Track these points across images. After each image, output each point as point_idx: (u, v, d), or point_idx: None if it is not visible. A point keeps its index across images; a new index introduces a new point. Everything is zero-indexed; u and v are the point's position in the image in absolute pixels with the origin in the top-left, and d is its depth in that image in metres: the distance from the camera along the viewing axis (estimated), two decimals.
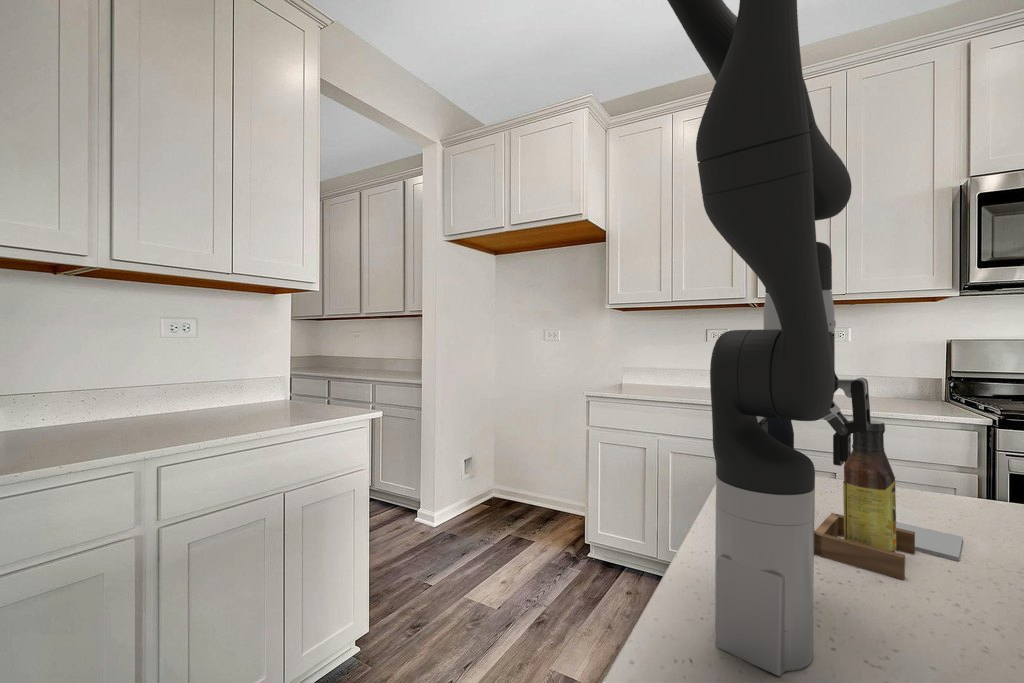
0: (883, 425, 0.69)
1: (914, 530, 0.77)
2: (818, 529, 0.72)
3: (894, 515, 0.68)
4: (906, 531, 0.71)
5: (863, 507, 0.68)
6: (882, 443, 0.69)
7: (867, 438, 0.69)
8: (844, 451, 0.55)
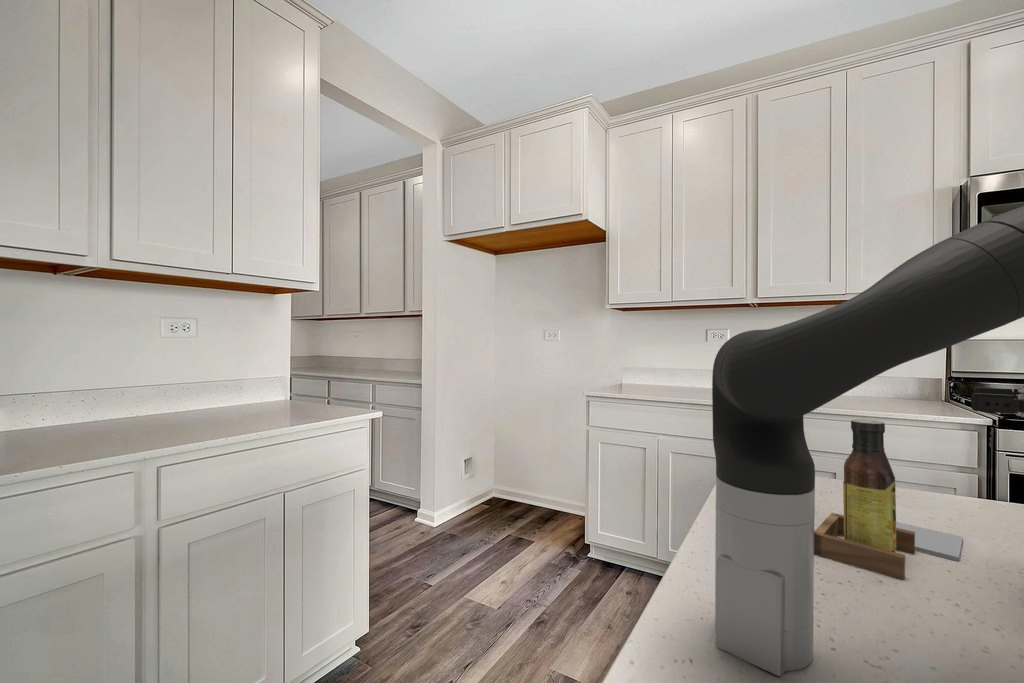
0: (883, 425, 0.69)
1: (914, 530, 0.77)
2: (818, 529, 0.72)
3: (894, 515, 0.68)
4: (906, 531, 0.71)
5: (863, 507, 0.68)
6: (882, 443, 0.69)
7: (867, 438, 0.69)
8: (991, 398, 0.57)
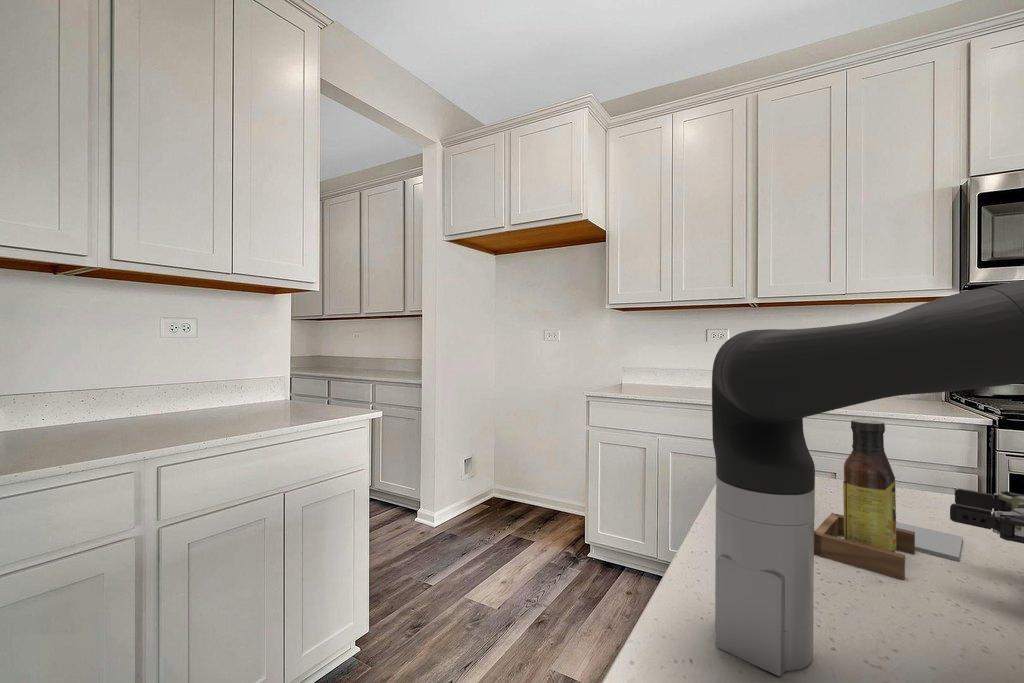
0: (883, 425, 0.69)
1: (914, 530, 0.77)
2: (818, 529, 0.72)
3: (894, 515, 0.68)
4: (906, 531, 0.71)
5: (863, 507, 0.68)
6: (882, 443, 0.69)
7: (867, 438, 0.69)
8: (969, 511, 0.59)
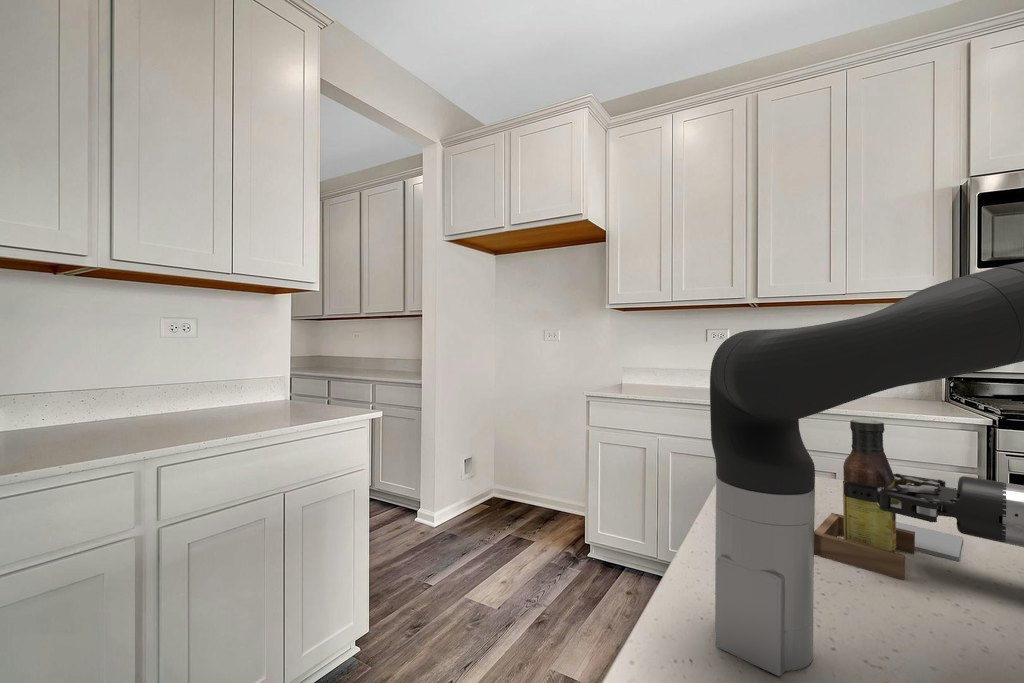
0: (882, 425, 0.69)
1: (914, 530, 0.77)
2: (818, 529, 0.72)
3: (894, 515, 0.67)
4: (906, 531, 0.71)
5: (863, 507, 0.68)
6: (882, 443, 0.69)
7: (866, 438, 0.69)
8: (858, 487, 0.68)
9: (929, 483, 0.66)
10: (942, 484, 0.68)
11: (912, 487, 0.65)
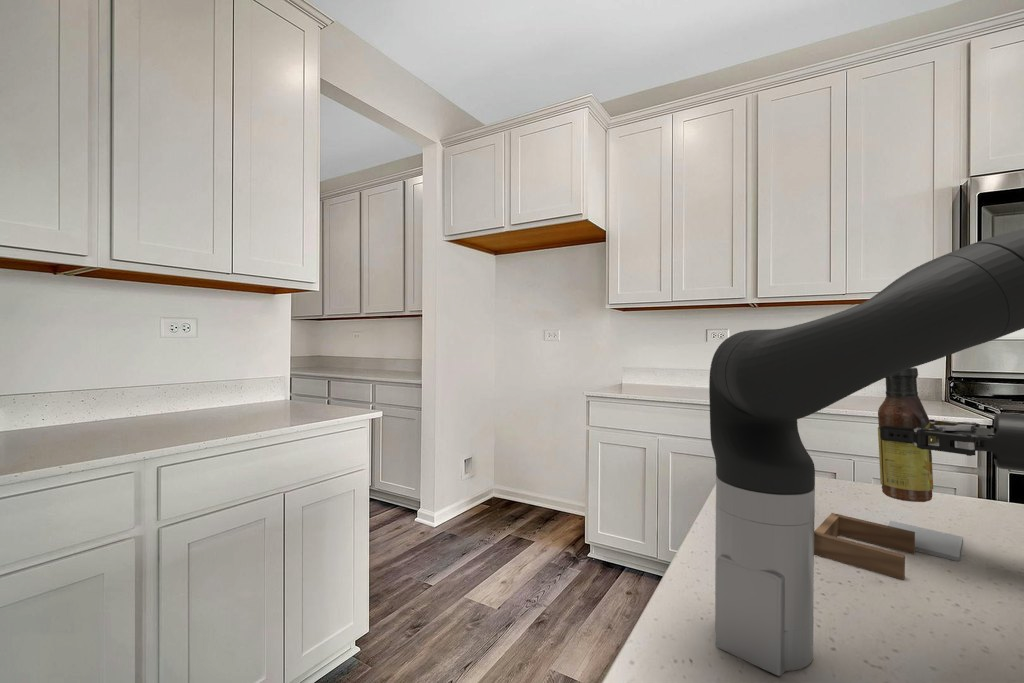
0: (916, 370, 0.71)
1: (914, 530, 0.77)
2: (818, 529, 0.72)
3: (930, 456, 0.69)
4: (906, 531, 0.71)
5: (899, 449, 0.70)
6: (916, 388, 0.71)
7: (900, 383, 0.71)
8: (895, 430, 0.70)
9: (964, 423, 0.68)
10: (976, 426, 0.70)
11: (948, 426, 0.67)
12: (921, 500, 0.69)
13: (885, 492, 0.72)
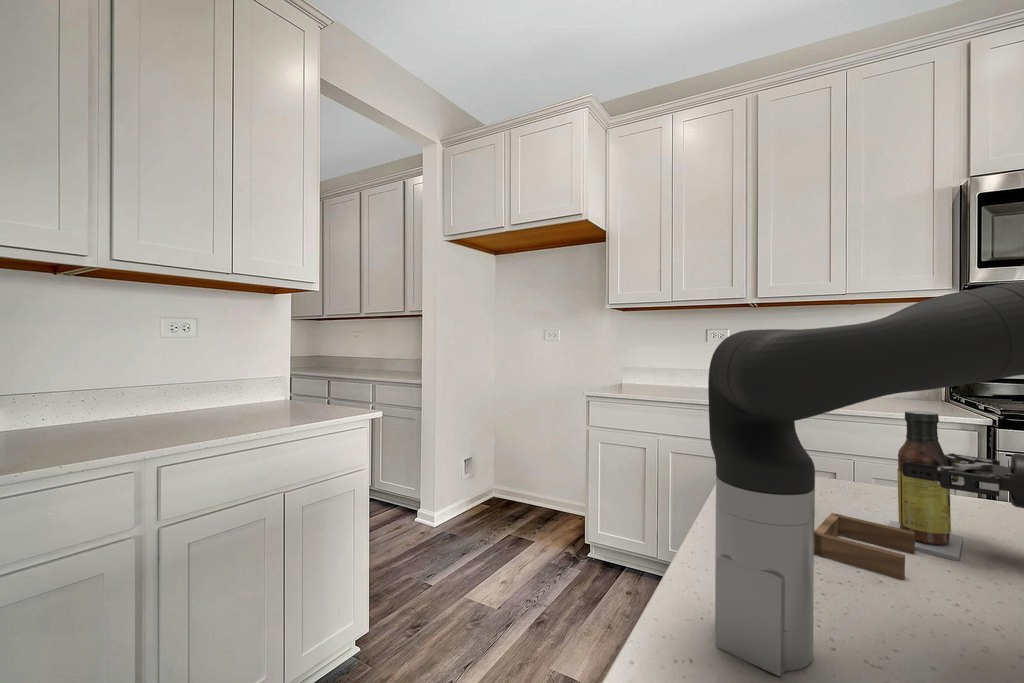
0: (937, 416, 0.73)
1: None
2: (818, 529, 0.72)
3: (949, 500, 0.72)
4: (906, 531, 0.71)
5: (919, 493, 0.72)
6: (936, 433, 0.73)
7: (921, 428, 0.73)
8: (917, 467, 0.71)
9: (981, 461, 0.70)
10: (996, 463, 0.72)
11: (969, 465, 0.69)
12: (939, 542, 0.71)
13: None
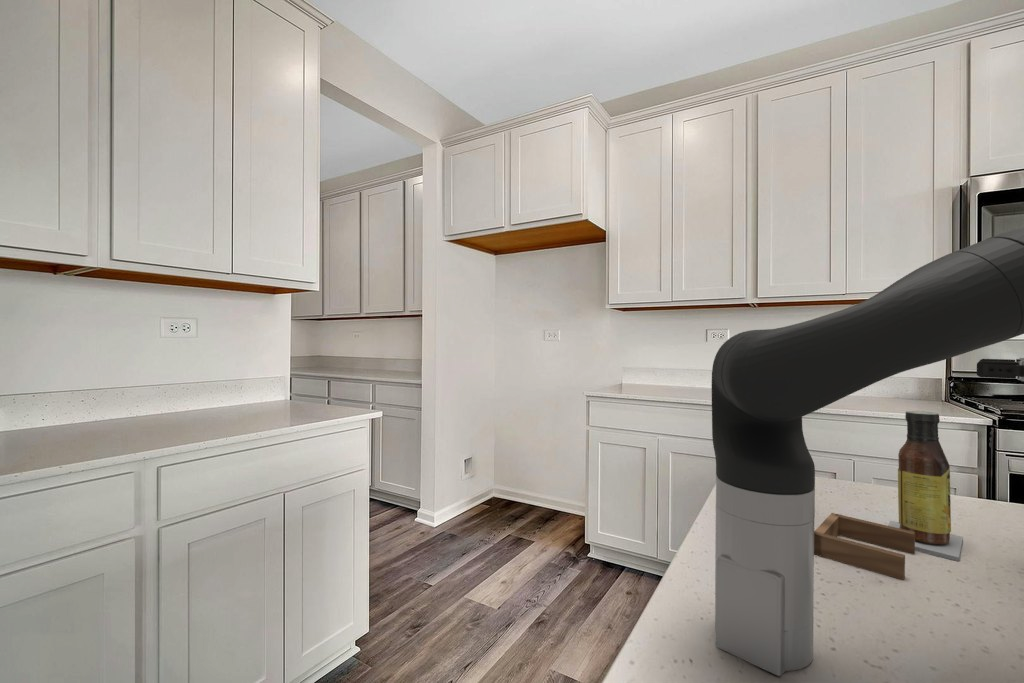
0: (938, 416, 0.73)
1: None
2: (818, 529, 0.72)
3: (949, 500, 0.72)
4: (906, 531, 0.71)
5: (919, 493, 0.72)
6: (937, 433, 0.73)
7: (922, 428, 0.73)
8: (995, 364, 0.63)
9: None
10: None
11: None
12: (939, 543, 0.71)
13: None
